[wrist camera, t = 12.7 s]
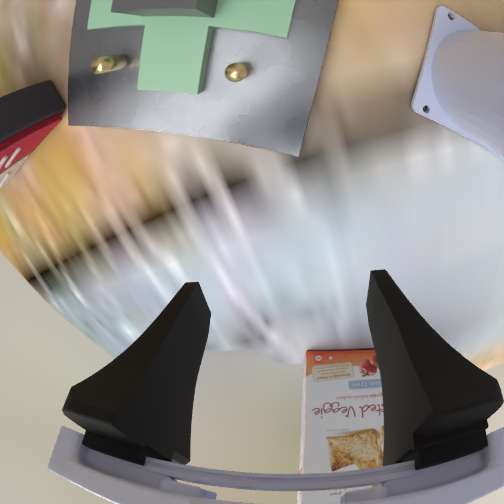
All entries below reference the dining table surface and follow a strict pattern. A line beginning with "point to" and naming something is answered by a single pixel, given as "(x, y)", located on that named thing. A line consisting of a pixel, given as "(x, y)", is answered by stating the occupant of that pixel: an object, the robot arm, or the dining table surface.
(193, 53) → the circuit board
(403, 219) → the dining table surface
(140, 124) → the chassis plate
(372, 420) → the cracker box
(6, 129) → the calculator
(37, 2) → the dining table surface
